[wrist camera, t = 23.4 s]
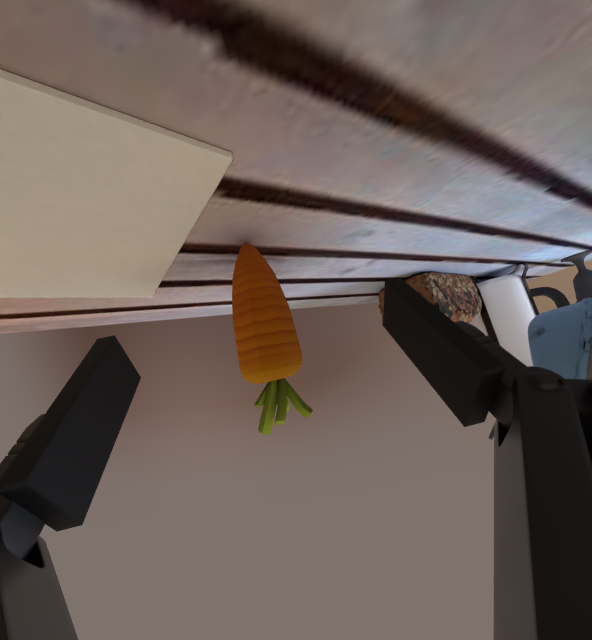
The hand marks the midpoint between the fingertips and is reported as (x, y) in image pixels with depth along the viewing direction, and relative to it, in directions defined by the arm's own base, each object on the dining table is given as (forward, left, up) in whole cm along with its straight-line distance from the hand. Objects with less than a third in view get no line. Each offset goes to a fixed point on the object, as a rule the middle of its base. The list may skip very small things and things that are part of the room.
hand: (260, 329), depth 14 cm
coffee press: (+5, +63, -9) cm, 64 cm away
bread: (+11, +45, -9) cm, 47 cm away
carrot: (+6, +4, -9) cm, 12 cm away
